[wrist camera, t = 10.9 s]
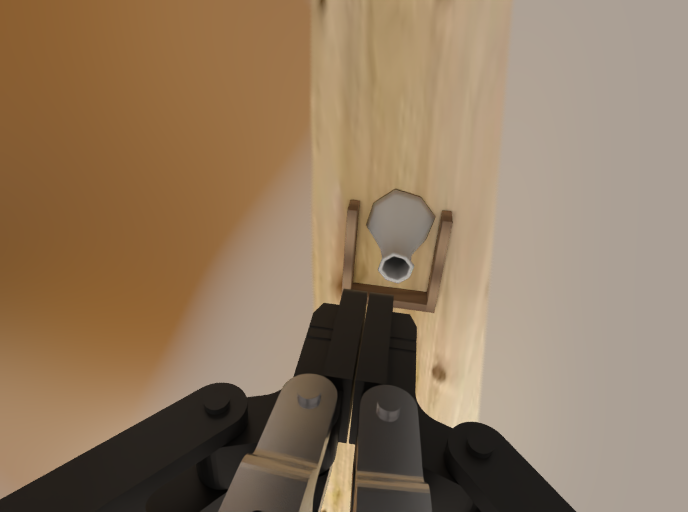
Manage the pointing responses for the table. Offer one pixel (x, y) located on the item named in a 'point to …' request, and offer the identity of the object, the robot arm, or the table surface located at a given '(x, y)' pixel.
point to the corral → (401, 296)
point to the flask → (399, 231)
